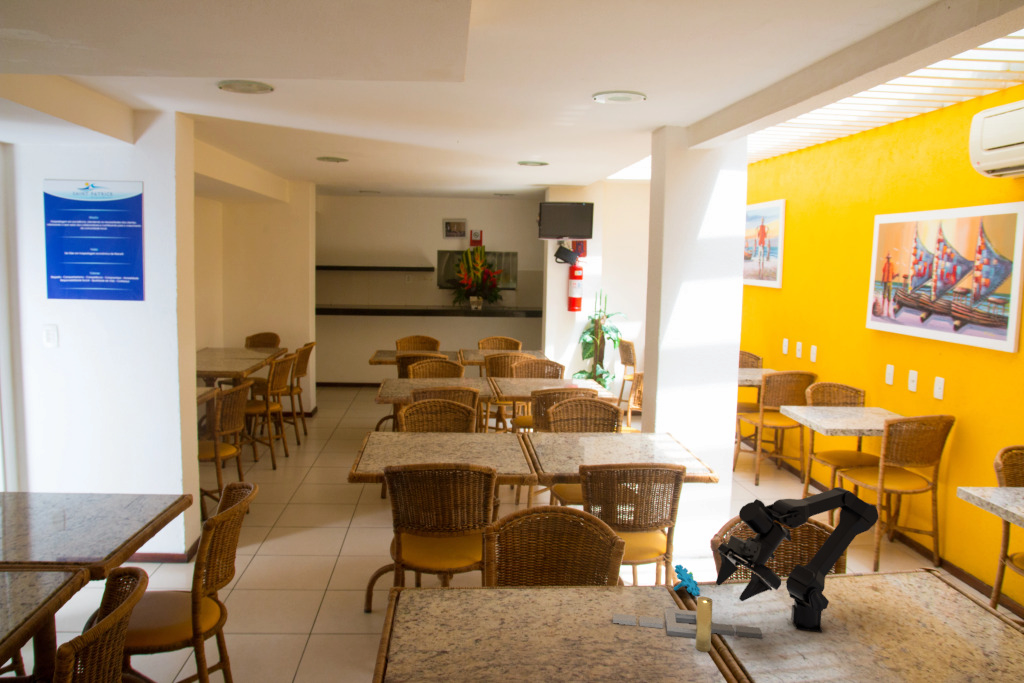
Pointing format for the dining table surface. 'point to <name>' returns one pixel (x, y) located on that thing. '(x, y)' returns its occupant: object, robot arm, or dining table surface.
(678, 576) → the gear
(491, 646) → the dining table surface
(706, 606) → the pin
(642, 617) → the square frame with tiles
